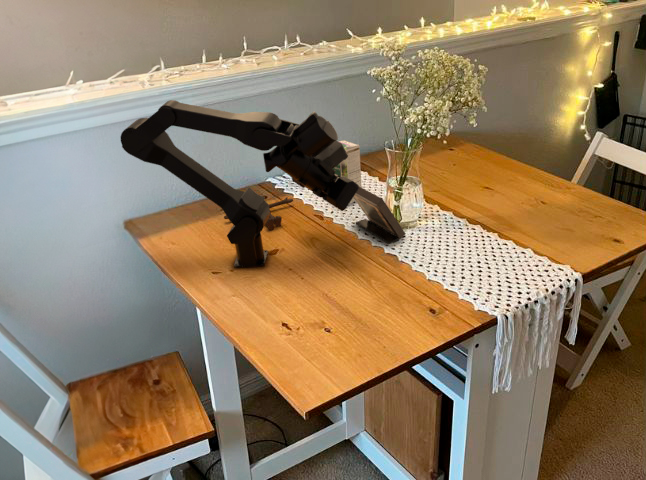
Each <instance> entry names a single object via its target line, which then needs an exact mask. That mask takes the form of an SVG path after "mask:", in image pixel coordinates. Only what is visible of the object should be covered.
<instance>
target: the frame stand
mask: <svg viewBox="0 0 646 480" xmlns="http://www.w3.org/2000/svg"><path fill="white" fill-rule="evenodd" d="M355 225H356V226H357V227H360V228H361V229H363V230H365V232H368V233H369V234H371V235H373V236H374V237H376V238H377V239H379V240H381V241H382V242H384V243H386V244H387V245H392V244H394V243H396V242H399V241H400V238H398V237H396V236H395V235H393V234H391V233H390V232H388V231H386V230H384V229H383V228H381V227H379V226H378V225H376V224H374V223H372V222H371V221H370V220H369V219H368V218H362V219H361V220H358V221H355Z"/></svg>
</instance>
